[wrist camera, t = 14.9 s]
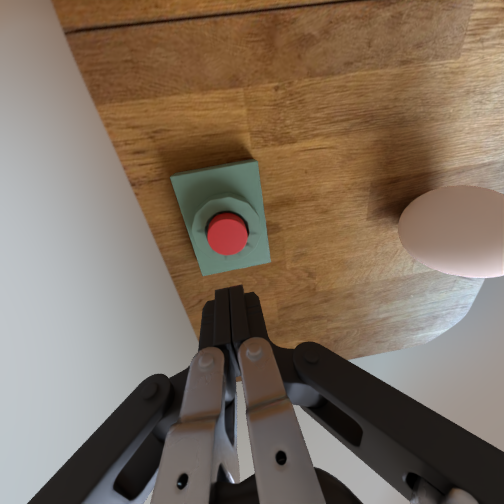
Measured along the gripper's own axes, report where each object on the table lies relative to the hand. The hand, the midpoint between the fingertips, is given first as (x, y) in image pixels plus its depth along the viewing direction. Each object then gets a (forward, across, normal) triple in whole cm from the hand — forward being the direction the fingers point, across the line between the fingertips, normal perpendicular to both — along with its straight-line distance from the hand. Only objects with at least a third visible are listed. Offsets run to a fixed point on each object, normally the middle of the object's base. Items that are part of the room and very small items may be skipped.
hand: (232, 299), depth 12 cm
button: (+10, 0, 0) cm, 10 cm away
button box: (+14, 0, 0) cm, 14 cm away
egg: (+14, -23, +4) cm, 27 cm away
